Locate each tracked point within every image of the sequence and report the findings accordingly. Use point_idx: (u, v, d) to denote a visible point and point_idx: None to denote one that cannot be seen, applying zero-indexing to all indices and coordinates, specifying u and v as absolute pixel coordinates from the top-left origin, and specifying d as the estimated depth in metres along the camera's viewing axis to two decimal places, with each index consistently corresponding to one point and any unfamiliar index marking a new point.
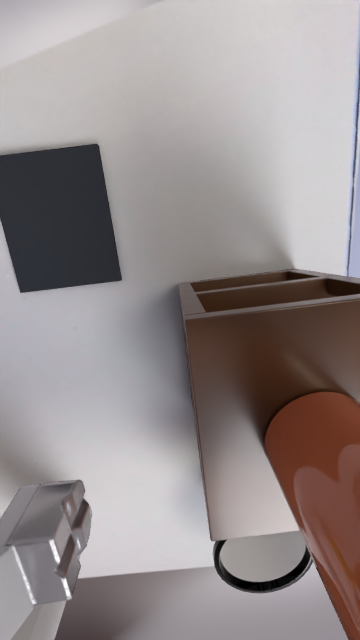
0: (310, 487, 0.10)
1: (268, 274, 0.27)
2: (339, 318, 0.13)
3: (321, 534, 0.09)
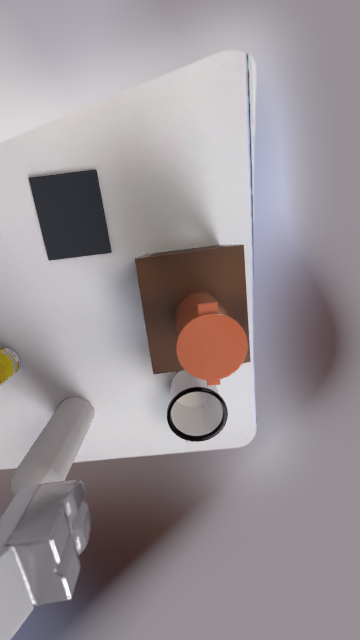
0: (178, 315, 0.27)
1: (201, 248, 0.43)
2: (203, 258, 0.30)
3: (176, 324, 0.26)
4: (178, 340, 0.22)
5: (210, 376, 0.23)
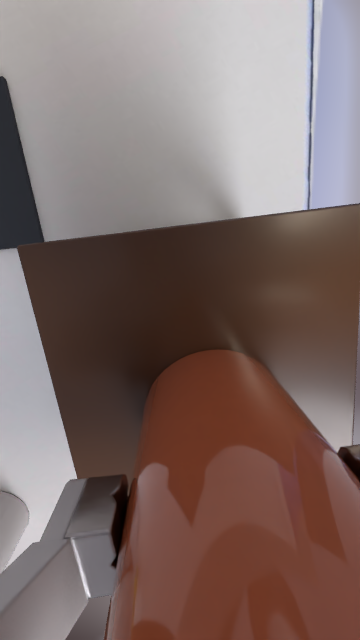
0: (137, 471, 0.07)
1: None
2: (235, 245, 0.09)
3: (120, 544, 0.06)
4: None
5: None
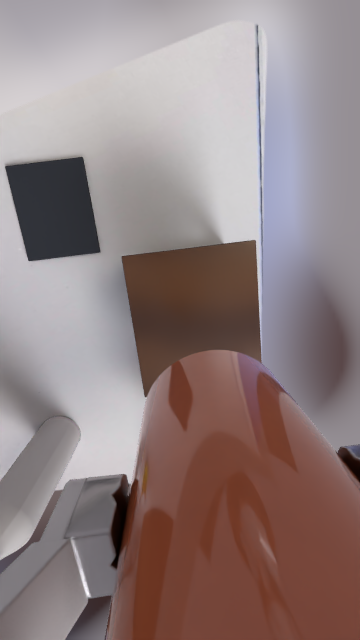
0: (137, 471, 0.07)
1: None
2: (205, 256, 0.24)
3: (121, 544, 0.06)
4: None
5: None
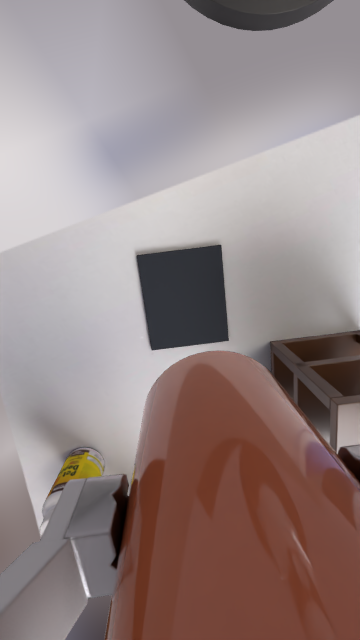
0: (137, 473, 0.07)
1: (341, 336, 0.35)
2: None
3: (120, 547, 0.06)
4: None
5: None
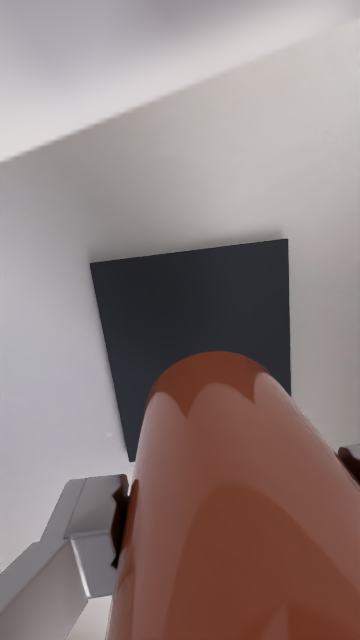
0: (137, 473, 0.07)
1: None
2: None
3: (120, 547, 0.06)
4: None
5: None
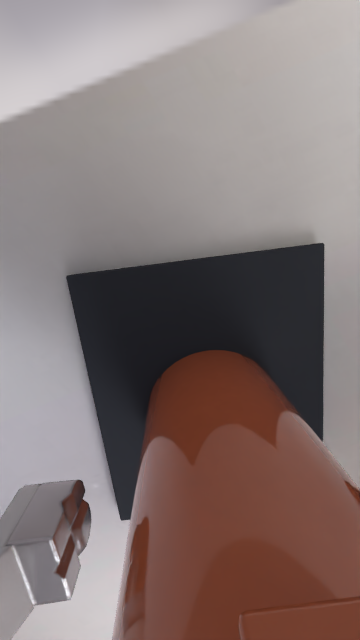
0: (144, 457, 0.08)
1: None
2: None
3: (131, 517, 0.06)
4: None
5: None
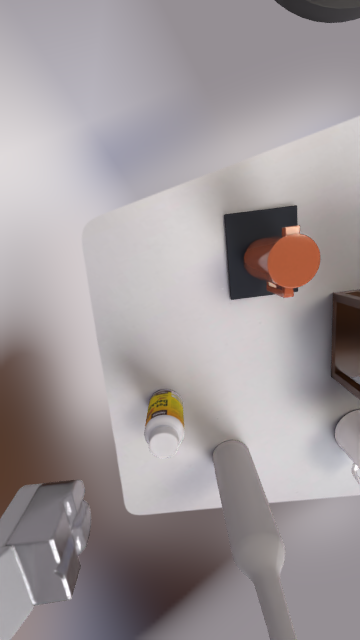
0: (254, 249, 0.35)
1: None
2: None
3: (256, 254, 0.34)
4: (269, 254, 0.29)
5: (290, 284, 0.30)
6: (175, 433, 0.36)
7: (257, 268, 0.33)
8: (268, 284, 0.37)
